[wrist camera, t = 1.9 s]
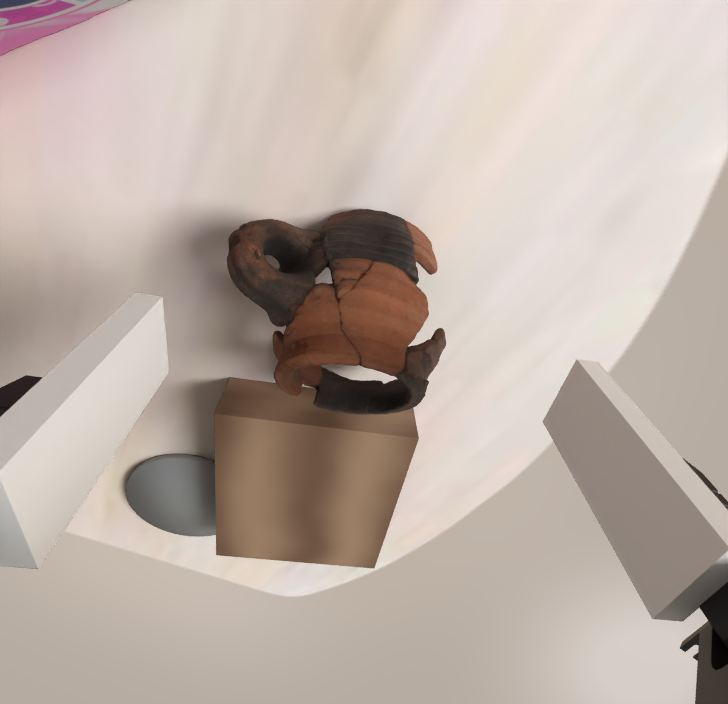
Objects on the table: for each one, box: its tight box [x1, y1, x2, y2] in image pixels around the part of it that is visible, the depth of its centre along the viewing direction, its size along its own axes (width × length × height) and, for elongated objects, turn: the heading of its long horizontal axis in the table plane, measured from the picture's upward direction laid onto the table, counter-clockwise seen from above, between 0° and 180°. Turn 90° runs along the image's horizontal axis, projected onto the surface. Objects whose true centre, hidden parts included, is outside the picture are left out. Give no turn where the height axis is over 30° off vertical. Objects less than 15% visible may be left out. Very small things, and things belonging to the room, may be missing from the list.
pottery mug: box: [227, 209, 446, 415], centre depth 21 cm, size 12×9×8 cm
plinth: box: [214, 378, 419, 568], centre depth 29 cm, size 12×14×4 cm
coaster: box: [126, 454, 216, 536], centre depth 32 cm, size 9×9×1 cm
